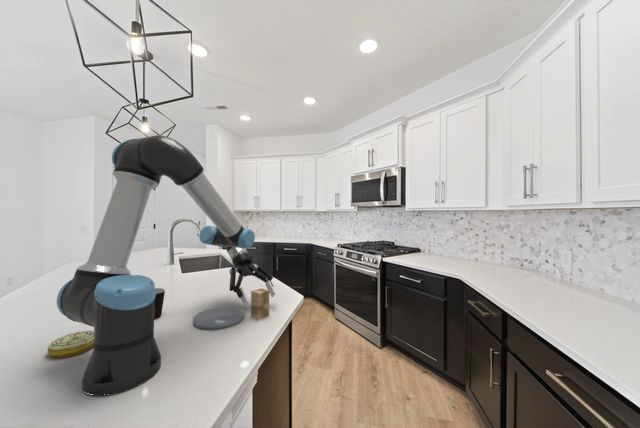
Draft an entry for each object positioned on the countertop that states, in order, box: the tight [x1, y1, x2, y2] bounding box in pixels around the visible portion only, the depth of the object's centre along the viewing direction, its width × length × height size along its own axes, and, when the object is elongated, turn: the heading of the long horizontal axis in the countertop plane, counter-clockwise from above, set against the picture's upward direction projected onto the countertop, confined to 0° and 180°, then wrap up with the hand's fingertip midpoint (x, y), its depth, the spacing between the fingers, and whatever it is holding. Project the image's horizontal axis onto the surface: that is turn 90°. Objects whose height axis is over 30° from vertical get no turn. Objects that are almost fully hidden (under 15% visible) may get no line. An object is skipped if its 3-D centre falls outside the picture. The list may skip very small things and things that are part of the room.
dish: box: [192, 306, 245, 331], centre depth 94 cm, size 18×18×2 cm
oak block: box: [250, 288, 270, 321], centre depth 98 cm, size 5×5×10 cm
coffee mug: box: [154, 287, 166, 321], centre depth 94 cm, size 12×9×10 cm
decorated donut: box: [47, 330, 94, 358], centre depth 72 cm, size 10×11×4 cm
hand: (261, 299), depth 98 cm, fingers open, 13 cm apart
